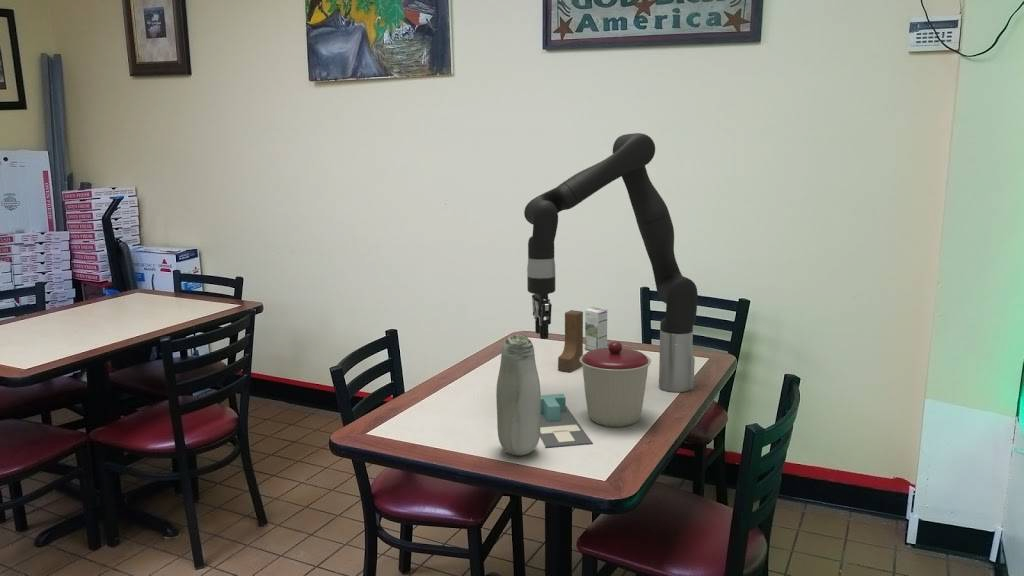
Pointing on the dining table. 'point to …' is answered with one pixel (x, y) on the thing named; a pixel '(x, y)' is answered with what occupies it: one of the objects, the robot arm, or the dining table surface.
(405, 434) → the dining table surface
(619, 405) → the canister
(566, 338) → the wooden block
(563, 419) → the mat
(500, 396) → the glass bottle
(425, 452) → the dining table surface
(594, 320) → the syrup box
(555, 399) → the t block
